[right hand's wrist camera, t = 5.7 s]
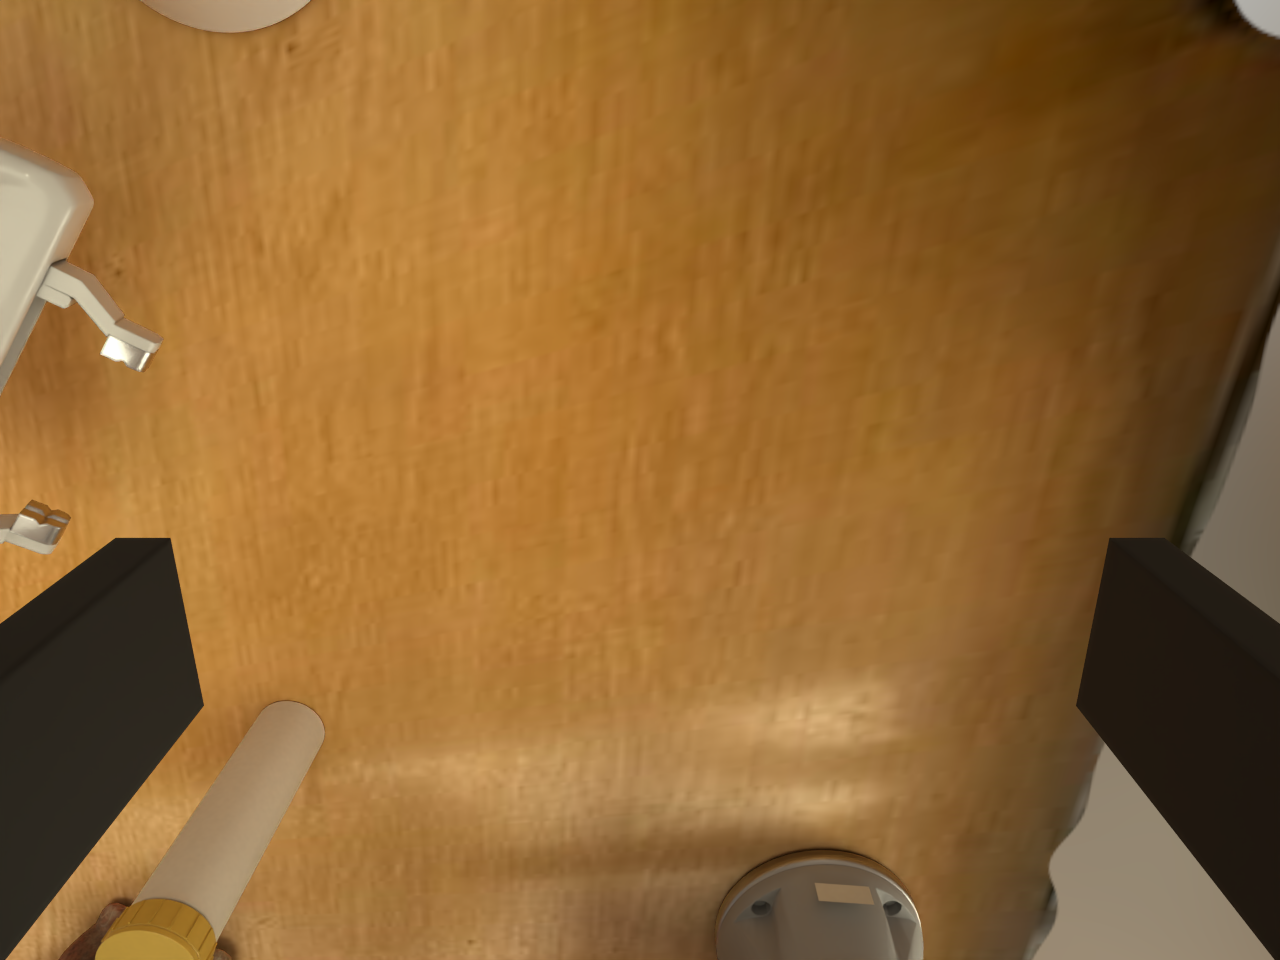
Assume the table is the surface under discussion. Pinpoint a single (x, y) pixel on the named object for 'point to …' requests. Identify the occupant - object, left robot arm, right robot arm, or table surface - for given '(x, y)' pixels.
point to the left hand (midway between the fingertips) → (107, 447)
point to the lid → (158, 933)
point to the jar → (238, 815)
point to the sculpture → (85, 947)
